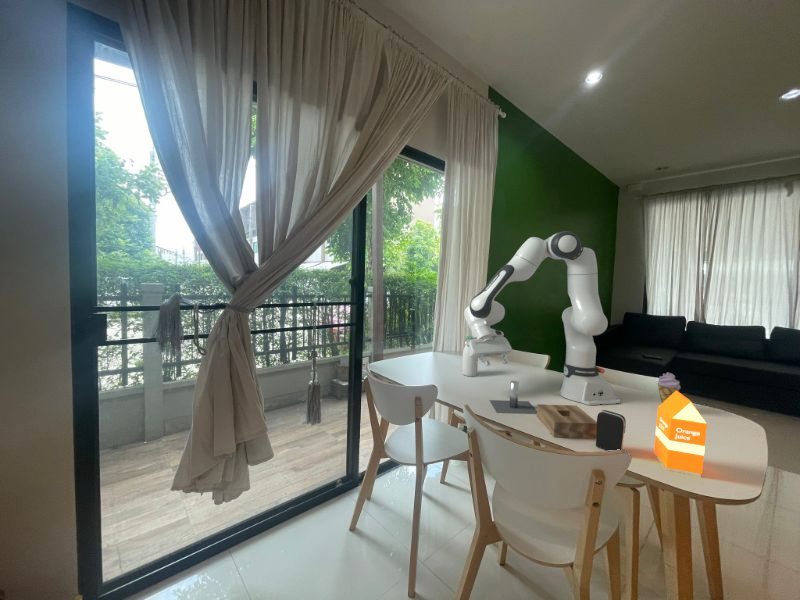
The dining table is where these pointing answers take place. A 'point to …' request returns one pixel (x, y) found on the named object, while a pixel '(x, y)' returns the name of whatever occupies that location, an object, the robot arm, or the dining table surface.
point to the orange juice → (680, 434)
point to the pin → (513, 394)
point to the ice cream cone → (667, 386)
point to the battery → (610, 430)
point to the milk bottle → (469, 363)
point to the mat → (522, 408)
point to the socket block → (567, 421)
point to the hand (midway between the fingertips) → (497, 364)
